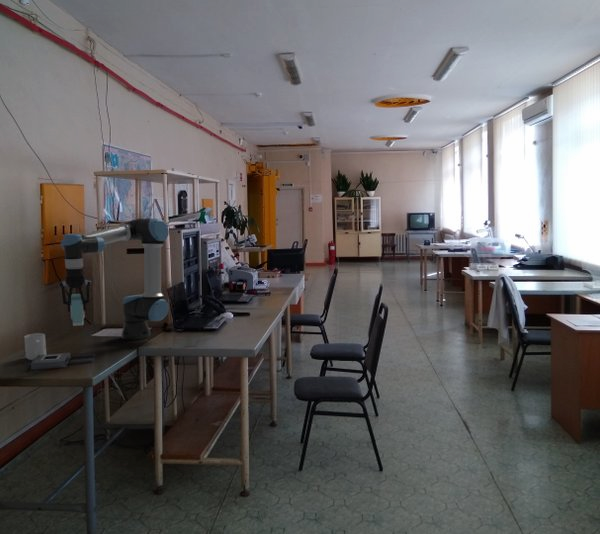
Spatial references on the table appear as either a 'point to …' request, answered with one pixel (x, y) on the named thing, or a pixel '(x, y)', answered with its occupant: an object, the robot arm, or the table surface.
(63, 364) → the port
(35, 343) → the mug
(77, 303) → the plug
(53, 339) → the table surface
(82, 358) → the dark grey square tray
